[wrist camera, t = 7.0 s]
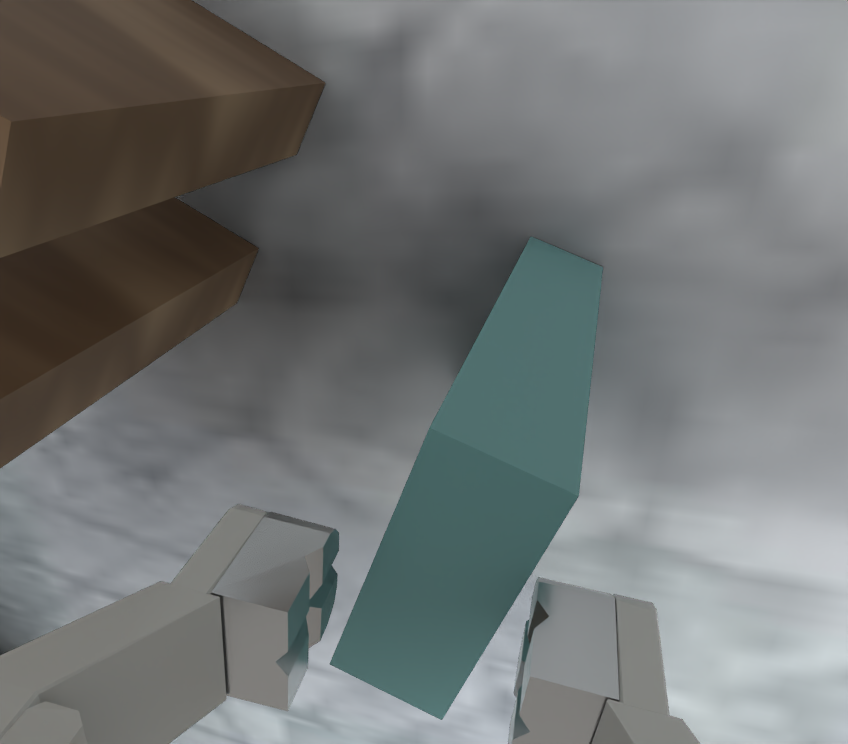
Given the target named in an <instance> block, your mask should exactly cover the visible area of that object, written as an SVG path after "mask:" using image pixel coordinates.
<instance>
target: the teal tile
mask: <svg viewBox="0 0 848 744" xmlns="http://www.w3.org/2000/svg"><path fill="white" fill-rule="evenodd" d="M602 272H603V267H602V266H599V265H597V264H595V263H592V262H590V261H588V260H585V259H583V258H581V257H578V256H576V255H574V254H571V253H569V252H567V251H564V250H562V249H559V248H557V247H555V246H552V245H550V244H548V243H545V242H543V241H541V240H538V239H536V238H534V237H530V239H529V241H528V243H527V245H526V246H525V248H524V250H523V252H522V254H521V256H520V258H519V260H518V262H517V263H516V265H515V267H514V269H513V271H512V273H511V275H510V277H509V279H508V280H507V282H506V284H505V286H504V288H503V290H502V292H501V294H500V296H499V297H498V299H497V301H496V303H495V305H494V307H493V309H492V311H491V313H490V315H489V316H488V318H487V320H486V322H485V324H484V326H483V328H482V330H481V332H480V333H479V335H478V337H477V339H476V341H475V343H474V345H473V347H472V349H471V350H470V352H469V354H468V356H467V358H466V360H465V362H464V364H463V366H462V367H461V369H460V371H459V373H458V375H457V377H456V379H455V381H454V383H453V384H452V386H451V388H450V390H449V392H448V394H447V396H446V398H445V400H444V401H443V403H442V405H441V407H440V409H439V411H438V413H437V415H436V417H435V418H434V420H433V422H432V424H431V426H430V428H429V430H428V433H427V435H426V437H425V440H424V442H423V445H422V447H421V449H420V452H419V454H418V456H417V459H416V461H415V463H414V466H413V468H412V471H411V473H410V475H409V478H408V480H407V482H406V485H405V487H404V489H403V492H402V494H401V497H400V499H399V501H398V504H397V506H396V508H395V511H394V513H393V515H392V518H391V520H390V523H389V525H388V527H387V530H386V532H385V534H384V537H383V539H382V541H381V544H380V546H379V549H378V551H377V553H376V556H375V558H374V560H373V563H372V565H371V567H370V570H369V572H368V575H367V577H366V579H365V582H364V584H363V586H362V589H361V591H360V593H359V596H358V598H357V601H356V603H355V605H354V608H353V610H352V612H351V615H350V617H349V619H348V622H347V624H346V627H345V629H344V631H343V634H342V636H341V638H340V641H339V643H338V645H337V648H336V650H335V653H334V655H333V657H332V660H331V662H330V665H332V666H334V667H336V668H338V669H340V670H342V671H344V672H346V673H348V674H350V675H352V676H354V677H356V678H358V679H360V680H362V681H364V682H366V683H368V684H370V685H372V686H374V687H376V688H378V689H380V690H382V691H384V692H386V693H388V694H390V695H392V696H394V697H396V698H398V699H400V700H402V701H404V702H406V703H408V704H410V705H412V706H414V707H416V708H418V709H420V710H422V711H425V712H427V713H429V714H431V715H433V716H435V717H437V718H439V719H441V720H442V719H443V717H444V716H445V714H446V712H447V711H448V709H449V707H450V706H451V704H452V703H453V701H454V699H455V698H456V696H457V694H458V693H459V691H460V689H461V688H462V686H463V685H464V683H465V681H466V680H467V678H468V676H469V675H470V673H471V671H472V670H473V668H474V667H475V665H476V663H477V662H478V660H479V658H480V657H481V655H482V653H483V652H484V650H485V649H486V647H487V645H488V644H489V642H490V640H491V639H492V637H493V635H494V634H495V632H496V631H497V629H498V627H499V626H500V624H501V622H502V621H503V619H504V617H505V616H506V614H507V613H508V611H509V609H510V608H511V606H512V604H513V603H514V601H515V599H516V598H517V596H518V595H519V593H520V591H521V590H522V588H523V586H524V585H525V583H526V581H527V580H528V578H529V577H530V575H531V573H532V572H533V570H534V568H535V567H536V565H537V563H538V562H539V560H540V559H541V557H542V555H543V554H544V552H545V550H546V549H547V547H548V545H549V544H550V542H551V541H552V539H553V537H554V536H555V534H556V532H557V531H558V529H559V527H560V526H561V524H562V523H563V521H564V519H565V518H566V516H567V514H568V513H569V511H570V509H571V508H572V506H573V505H574V503H575V501H576V500H577V498H578V496H579V488H580V479H581V470H582V460H583V451H584V441H585V432H586V423H587V413H588V404H589V394H590V385H591V376H592V366H593V357H594V347H595V338H596V329H597V319H598V310H599V300H600V291H601V282H602Z"/></svg>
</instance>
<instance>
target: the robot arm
mask: <svg viewBox="0 0 848 744" xmlns="http://www.w3.org/2000/svg"><path fill="white" fill-rule="evenodd" d="M338 551H339V532H338V531H337V530H336V529H334V528H330V527H326V526H323V525H319V524H315V523H311V522H308V521H304V520H300V519H296V518H293V517H289V516H285V515H281V514H277V513H274V512H266V511H263V510H259V509H255V508H252V507H248V506H245V505H241V504H237V505H235V506H234V507H232V508H230V509H229V510H228V511H227V512H226V513H225V515H224V516H223V517H222V519H221V520H220V521H219V522H218V524H217V525H216V526H215V527H214V529H213V530H212V531H211V533H210V534H209V535H208V536H207V538H206V539H205V540H204V541H203V543H202V544H201V545H200V547H199V548H198V549H197V550H196V552H195V553H194V554H193V555H192V557H191V558H190V559H189V560H188V562H187V563H186V564H185V566H184V567H183V568H182V569H181V571H180V572H179V573H178V574H177V576H176V577H175V578H174V580H173V581H172V582H171V583H166V582H161V581H160V582H157V583H155V584H153V585H151V586H149V587H147V588H144V589H142V590H140V591H138V592H136V593H134V594H132V595H129V596H127V597H125V598H123V599H121V600H119V601H116V602H114V603H112V604H110V605H108V606H106V607H104V608H101V609H99V610H97V611H95V612H93V613H91V614H88V615H86V616H84V617H82V618H80V619H78V620H76V621H73V622H71V623H69V624H67V625H65V626H63V627H60V628H58V629H56V630H54V631H52V632H50V633H48V634H45V635H43V636H41V637H39V638H37V639H35V640H32V641H30V642H28V643H26V644H24V645H22V646H20V647H17V648H15V649H13V650H11V651H9V652H7V653H4V654H2V655H0V744H169V743H170V742H172V741H173V740H174V739H176V738H177V737H178V736H179V735H181V734H182V733H183V732H185V731H186V730H187V729H189V728H190V727H191V726H193V725H194V724H195V723H197V722H198V721H199V720H200V719H202V718H203V717H204V716H206V715H207V714H208V713H210V712H211V711H212V710H214V709H215V708H216V707H218V706H219V705H220V704H222V703H223V702H224V701H225V700H226V699H227V697H226V695H227V696H231V697H235V698H239V699H242V700H246V701H250V702H254V703H258V704H262V705H266V706H270V707H274V708H278V709H282V710H285V711H288V710H289V708H290V705H291V703H292V701H293V699H294V697H295V695H296V692H297V690H298V688H299V686H300V684H301V682H302V680H303V677H304V675H305V673H306V671H307V669H308V648H310V647H311V646H313V645H314V644H316V643H318V642H319V641H320V640H321V638H322V635H323V633H324V631H325V629H326V626H327V624H328V621H329V618H330V614H331V611H332V608H333V605H334V600H335V594H336V588H337V573H336V571H335V570H334V568H333V567H332V563H333V561H334V559H335V557H336V555H337V553H338ZM514 695H515V696H516V701H515V705H514V709H513V713H512V717H511V721H510V727H509V736H508V744H700V742H699V741H698V740H697V738H696V737H695V736H694V734H693V733H692V731H691V730H690V729H689V727H688V726H687V725H686V723H685V722H684V721H683V719H680V718H677V717H673V716H670V715H669V707H668V699H667V691H666V682H665V674H664V666H663V658H662V650H661V641H660V633H659V625H658V617H657V609H656V608H655V606H654V604H653V603H651V602H647V601H642V600H638V599H633V598H629V597H624V596H620V595H616V594H614V595H612V594H610V593H605V592H601V591H597V590H592V589H588V588H584V587H579V586H575V585H571V584H566V583H562V582H558V581H553V580H549V579H544V578H540V577H538V578H537V581H536V584H535V588H534V592H533V595H532V601H531V609H530V618H529V620H528V621H526V624H525V629H524V633H523V638H522V643H521V648H520V653H519V657H518V664H517V671H516V678H515V686H514Z"/></svg>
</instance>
